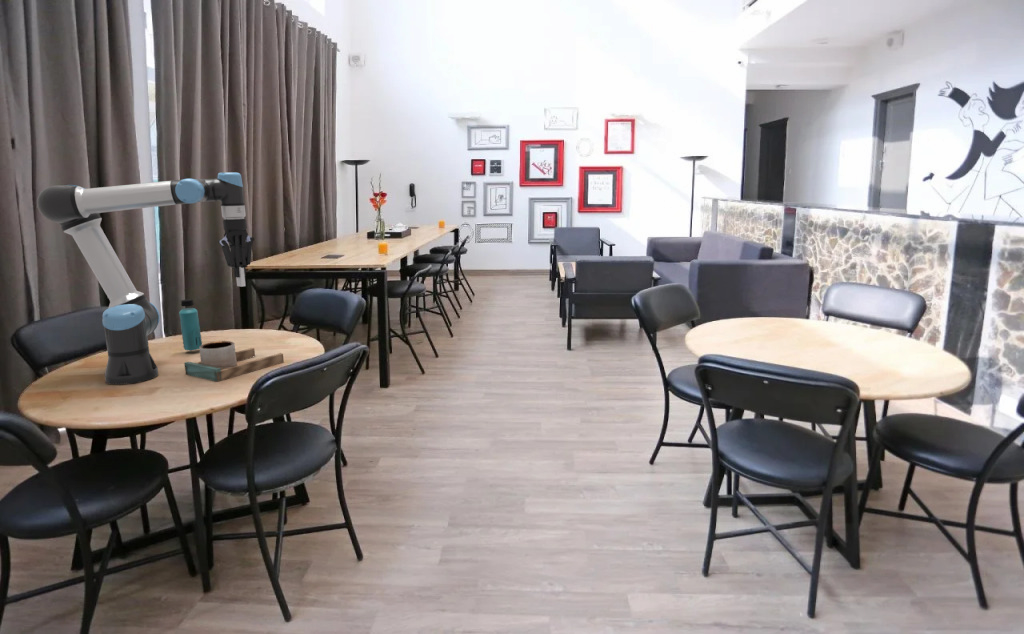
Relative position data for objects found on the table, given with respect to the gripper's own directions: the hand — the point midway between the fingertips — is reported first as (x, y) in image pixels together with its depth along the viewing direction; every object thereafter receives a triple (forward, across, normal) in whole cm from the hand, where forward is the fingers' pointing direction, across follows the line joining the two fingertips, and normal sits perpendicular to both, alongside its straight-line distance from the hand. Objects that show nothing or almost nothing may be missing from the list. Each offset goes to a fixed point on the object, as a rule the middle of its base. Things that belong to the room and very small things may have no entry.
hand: (241, 286), depth 230 cm
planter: (+27, -16, -6) cm, 32 cm away
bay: (+26, -10, -6) cm, 29 cm away
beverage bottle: (+27, -4, +27) cm, 38 cm away
